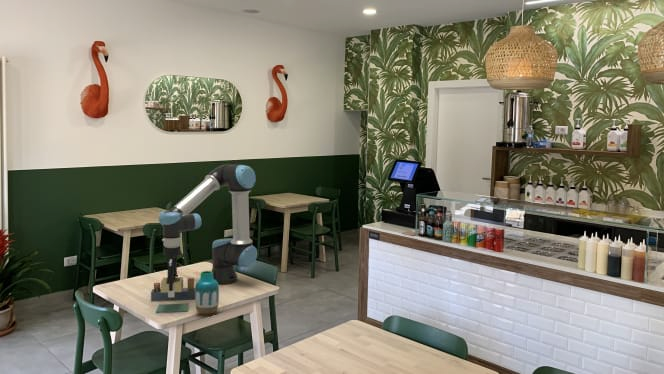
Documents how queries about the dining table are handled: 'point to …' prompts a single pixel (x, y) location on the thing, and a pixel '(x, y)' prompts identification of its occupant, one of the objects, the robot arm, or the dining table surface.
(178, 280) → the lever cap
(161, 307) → the felt pad
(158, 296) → the knobbed metal bar
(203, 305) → the vase
